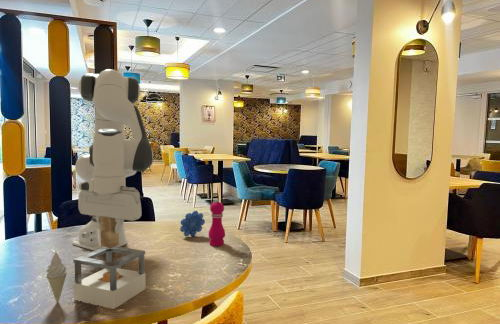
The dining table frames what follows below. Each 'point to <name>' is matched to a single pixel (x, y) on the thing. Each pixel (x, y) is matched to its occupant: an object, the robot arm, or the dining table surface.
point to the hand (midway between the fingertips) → (109, 231)
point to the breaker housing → (100, 292)
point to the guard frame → (108, 262)
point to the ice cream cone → (56, 276)
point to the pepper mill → (216, 224)
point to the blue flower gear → (192, 223)
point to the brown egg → (107, 276)
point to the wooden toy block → (108, 232)
